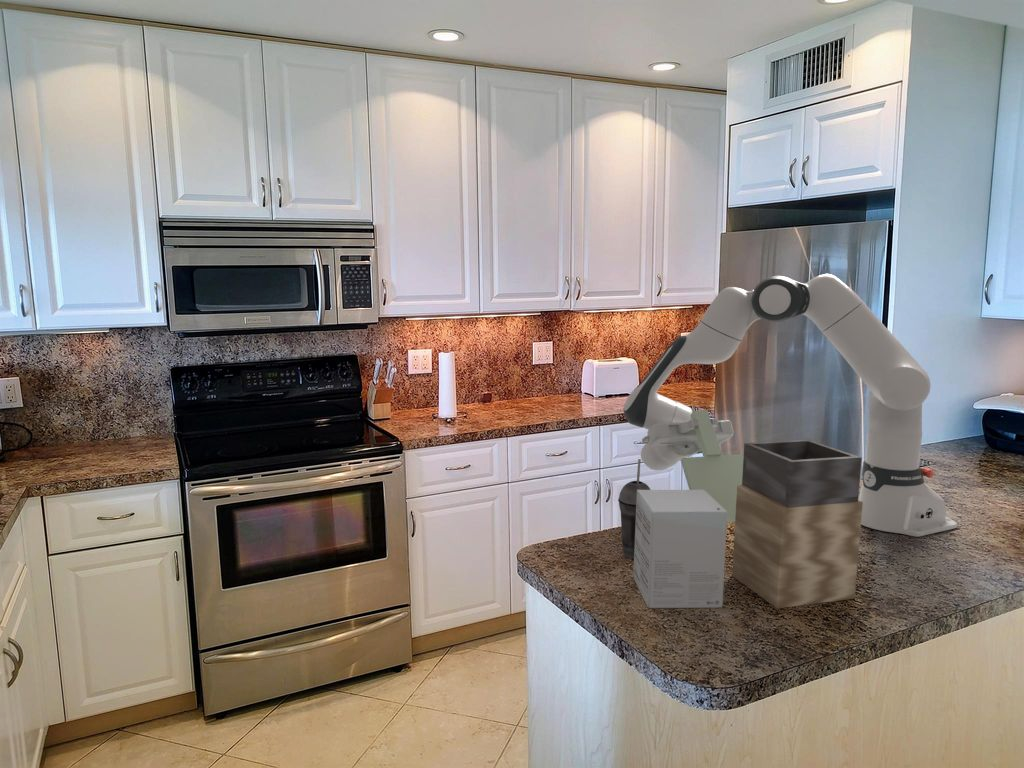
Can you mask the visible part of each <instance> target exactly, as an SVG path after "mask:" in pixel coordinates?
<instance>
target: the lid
mask: <svg viewBox="0 0 1024 768" xmlns="http://www.w3.org/2000/svg"><path fill="white" fill-rule="evenodd" d="M690 416H691V419H692V420H693V419H697V420H698V423H699V426H698V427H697V428H696V429H695V432H696V435H697V438H698V441H699V445H700V448H701V451H702V453H701V454H702V456H693V457H692V456H690V457H686V458H682V459H681V461H680V463H681V466H682V470H683V473H684V475H685V479H686V483H687V486H688V490H705V491H706V492H707V493H708V494H709V495H710V496H711V497H712V498H713V499H714V500H715V501H716V502H718V503H719V504H720V505H721V506H722V507H723V508H724V509H725V510H726V511H727V524H729V523H735V515H736V498H737V485H742V475H743V458H744V453H738V454H725V455H724V454H723V453H722V449H721V447H720V444H719V443H718V440H717V437H716V434H715V431H714V428H713V425H712V422H711V419H712V418H711V417H710V414H709V410H708V409H706V410H693V413H692V414H691V415H690Z"/></svg>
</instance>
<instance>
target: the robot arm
mask: <svg viewBox="0 0 1024 768" xmlns="http://www.w3.org/2000/svg"><path fill="white" fill-rule="evenodd" d="M800 315H803V316H805V317H807V318H808V319H809V320H810V321H812V322H813V324H814V325H815V326H816V327H817V328H818V329H819V331H820V332H821V333H822V334H823V336H825V338H827V340H828V341H829V342H830V343H831V345H832V346H833V347H834V348H835V349H836V350H837V351H838V353H839V354H840V355H841V356H842V357H843V359H844V360H845V361H846V362H847V364H848V365H849V366H850V367H851V369H852V370H853V371H854V372H855V373H856V374H857V375H858V377H859V378H860V379H861V381H862V382H863V383H864V384H865V385H866V386H867V388H868V389H869V395H868V396H869V399H868V418H867V419H868V421H867V422H868V423H867V436H866V447H865V448H866V451H865V459H864V461H863V462H862V466H861V478H862V484H861V487H860V490H859V496H858V500H860V501H863V506H862V517H861V526H864V527H867V528H869V529H873V530H878V531H880V532H881V531H882V532H888V533H894V534H903V535H907V536H910V537H924V536H927V535H933V534H936V533H940V532H941V533H942V532H945V531H949V530H950V531H951V530H953V529H957V528H958V524H957V522H956V521H955V520H953V519H952V518H950V517H948V516H947V507H946V501H945V499H943V498H942V496H941V495H939V494H938V493H937V492H936V491H934V490H933V489H932V488H931V487H930V486H929V485H927V484H926V483H925V479H924V477H926V478H927V479H928V478H929V479H932V478H933V477H934V476H935V471H934V469H932V468H927V467H924V468H921V467H920V460H921V449H922V441H923V438H922V437H923V428H922V427H923V423H922V422H923V403H924V402H925V401H926V400H927V397H928V396H929V395H930V391H931V381H930V380H931V379H930V377H929V374H928V372H927V371H926V370H925V369H924V368H923V367H922V366H921V364H919V362H918V361H917V360H916V359H915V358H914V357H913V356H912V354H911V353H910V352H909V351H908V350H907V349H906V348H905V347H904V346H903V344H902V343H900V341H899V340H898V339H897V338H896V337H895V336H894V334H893V333H892V332H891V331H890V330H889V328H887V327H886V326H885V324H884V323H883V322H882V321H881V320H880V319H879V318H878V317H877V315H876V314H875V313H874V312H873V311H872V309H870V307H869V306H868V305H867V304H866V303H865V302H864V301H863V300H862V298H860V296H859V295H858V294H857V293H856V292H855V291H854V290H852V288H851V287H849V286H848V285H847V284H846V283H844V281H842V280H841V279H840V278H838V277H837V276H836V275H833V274H830V273H824V274H819V275H817V276H814V277H812V279H810V280H809V281H807V282H805V283H802V282H799V281H797V280H794V279H792V278H789V277H787V276H783V275H773V276H769V277H767V278H765V279H763V280H761V281H760V282H759V283H757V285H756V286H755V288H754V289H752V290H745V289H744V288H740V287H736V286H728V287H725V288H723V289H722V290H720V291H719V293H718V294H717V295H716V297H715V298H714V299H713V300H712V302H711V303H710V305H709V306H708V307H707V309H706V311H705V312H704V314H703V316H702V318H701V319H700V322H699V323H698V324H697V326H696V327H695V328H694V329H693V330H692V331H691V332H689V333H688V334H686V335H680V336H678V337H676V338H675V339H674V340H673V341H672V342H671V344H669V345H668V347H666V349H665V350H664V352H663V353H662V354H661V356H660V357H659V358H658V359H657V361H656V362H655V364H654V365H653V366H652V368H650V370H649V371H648V372H647V374H646V375H645V377H644V378H643V380H642V381H640V383H639V384H638V385H637V386H636V387H635V389H634V390H632V392H631V393H630V394H629V395H628V397H627V398H626V400H625V403H624V405H623V408H622V409H623V414H624V416H625V418H626V420H627V421H628V424H630V425H632V426H636V427H639V428H643V429H645V430H647V432H646V433H647V435H645V436H644V437H642V439H641V442H642V443H644V445H643V446H642V448H641V450H640V459H641V461H642V462H643V464H644V466H646V467H647V468H649V469H650V470H653V471H664V470H666V469H669V468H671V467H673V466H675V465H676V464H677V463H679V462H681V459H682V458H689V457H692V456H695V455H697V454H698V455H699V454H702V451H701V448H700V445H699V441H698V438H697V435H696V432H695V429H696V428H697V427H698V426H699V423H698V420H697V419H693V420H692V419H691V416H690V415H691V414H692V413H693V411H694V410H693V409H692V407H690V406H688V405H686V404H683V403H681V402H679V401H677V400H673V399H671V398H670V397H666V396H665V395H662V394H660V393H658V392H657V391H658V390H659V389H660V388H661V387H662V385H663V384H664V383H665V382H666V380H668V377H670V375H671V374H672V372H673V371H674V370H676V369H677V368H678V367H679V366H683V365H689V364H690V365H691V364H692V365H693V364H696V365H697V364H698V365H715V364H720V363H721V364H722V363H723V362H726V361H727V360H729V359H730V358H732V356H733V355H734V354H735V352H737V350H738V348H739V346H740V344H741V342H742V340H743V339H744V337H745V335H746V334H747V332H748V330H749V328H750V327H751V326H752V324H753V323H755V322H756V321H759V320H763V321H766V322H769V323H784V322H787V321H790V320H791V319H793V318H795V317H799V316H800ZM710 419H711V422H712V425H713V428H714V431H715V434H716V437H717V440H718V443H719V445H721V444H723V443H726V441H728V440H729V439H731V438H732V437H733V436H734V428H733V424H732V422H731V420H729V419H726V420H718V418H717V417H716V418H715V417H714V418H710Z"/></svg>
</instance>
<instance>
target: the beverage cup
mask: <svg viewBox="0 0 1024 768" xmlns="http://www.w3.org/2000/svg"><path fill="white" fill-rule="evenodd" d="M641 461H642V459H641V458H638V460H637V470H636V471H637V472H636V473H637V474H636V480H632V481H630V482H627V483H626V484H625V485H624V486H623V487H622V488H621V490H620V492H619V495H618V499H617V500H618V505H619V510H620V525H621V528H620V529H621V546H622V552H623V553H622V554H623V556H624V557H625V558H628V559H632V560H634V549H635V526H636V502H637V490H652V489H651V487H649V485H648V484H647V483H645V482H643V481H640V477H641V476H640V473H641V463H642V462H641Z"/></svg>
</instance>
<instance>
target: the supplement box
mask: <svg viewBox="0 0 1024 768" xmlns="http://www.w3.org/2000/svg"><path fill="white" fill-rule="evenodd" d="M727 525H728V523H727V511H726V510H725V509H724V508H723V507H722V506H721V505H720V504H719V503H718V502H716V501H715V500H714V499H713V498H712V497H711V496H710V495H709V494H708V493H707V492H706V491H705V490H689V489H651V490H637V502H636V526H635V549H634V559H633V575H632V577H633V579H634V580H633V581H635V584H636V586H637V588H638V590H639V592H640V594H641V596H642V599H643V601H644V602H645V604H646V607H647V608H649V609H684V608H685V609H689V608H690V609H692V608H693V609H695V608H696V609H697V608H698V609H701V608H703V609H705V608H709V609H710V608H713V609H714V608H716V609H717V608H723V603H724V586H725V585H724V584H725V566H726V565H725V563H726V541H727Z"/></svg>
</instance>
